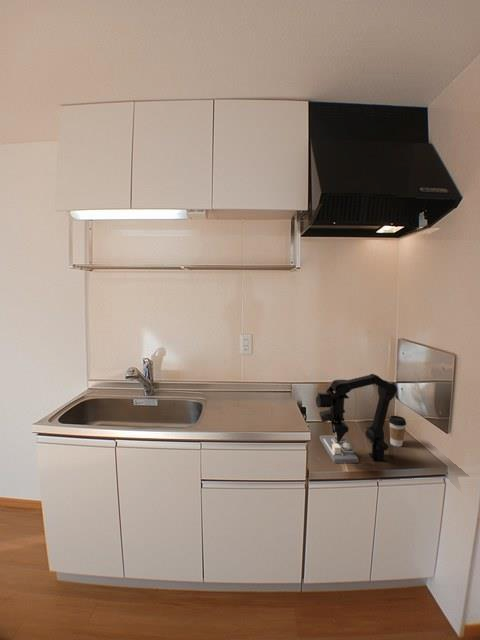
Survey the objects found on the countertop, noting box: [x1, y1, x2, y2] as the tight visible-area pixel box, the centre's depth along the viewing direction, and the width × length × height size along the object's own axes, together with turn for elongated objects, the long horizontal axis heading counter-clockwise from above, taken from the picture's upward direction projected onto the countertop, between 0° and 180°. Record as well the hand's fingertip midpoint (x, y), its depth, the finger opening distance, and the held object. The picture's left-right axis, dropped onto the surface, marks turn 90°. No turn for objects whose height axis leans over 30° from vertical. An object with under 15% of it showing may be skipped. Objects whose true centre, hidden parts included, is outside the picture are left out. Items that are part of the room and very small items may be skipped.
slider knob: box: [332, 444, 341, 454], centre depth 153 cm, size 4×3×4 cm
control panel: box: [319, 434, 360, 464], centre depth 160 cm, size 24×12×3 cm, turn 2°
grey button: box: [343, 441, 352, 450], centre depth 154 cm, size 4×4×2 cm
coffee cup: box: [388, 415, 407, 448], centre depth 165 cm, size 8×8×15 cm
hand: (336, 437), depth 149 cm, fingers open, 9 cm apart
